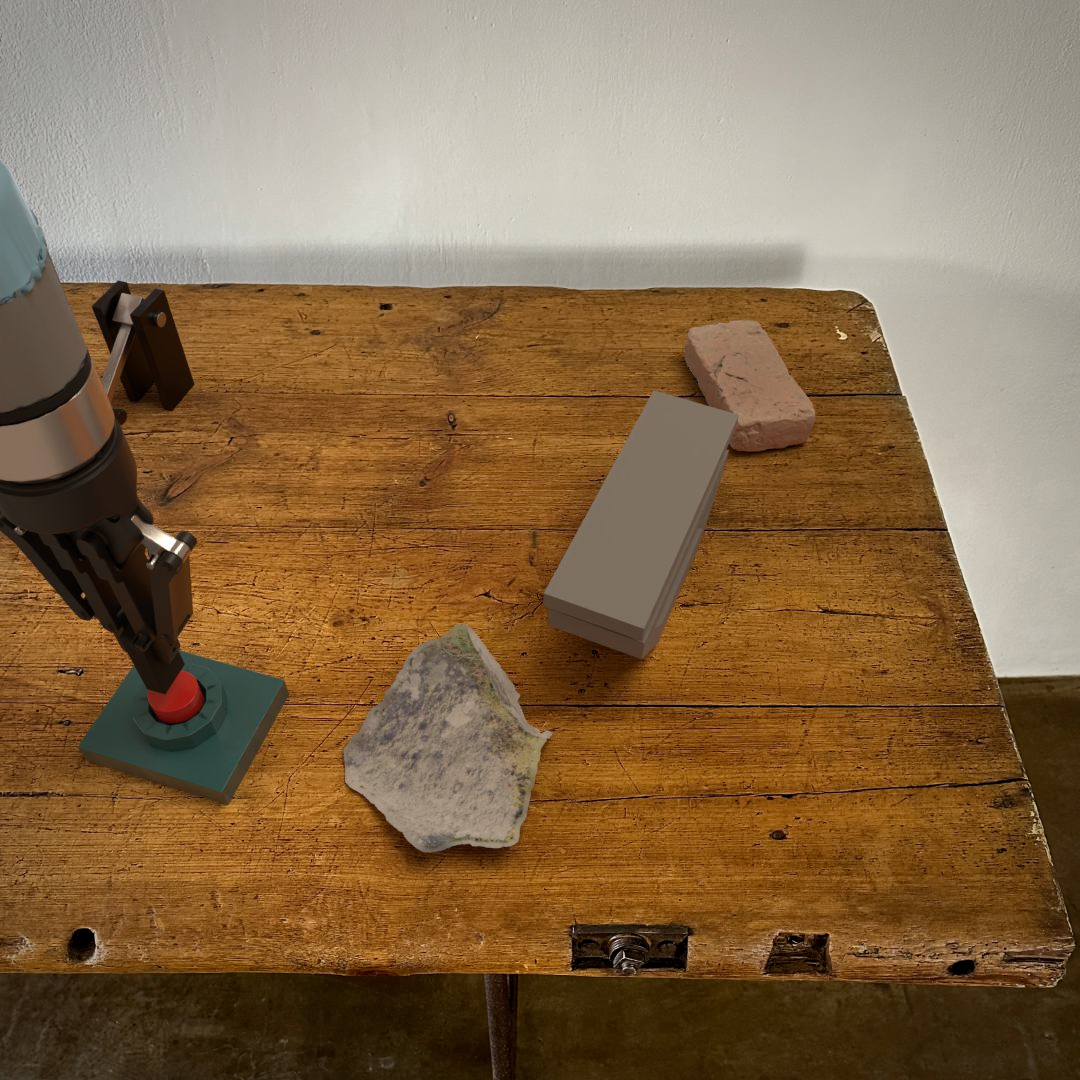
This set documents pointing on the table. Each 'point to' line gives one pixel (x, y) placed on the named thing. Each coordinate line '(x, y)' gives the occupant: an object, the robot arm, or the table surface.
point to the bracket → (148, 347)
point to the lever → (120, 348)
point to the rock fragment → (448, 748)
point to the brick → (749, 384)
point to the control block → (189, 730)
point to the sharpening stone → (643, 527)
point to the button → (177, 700)
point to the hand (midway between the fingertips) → (166, 676)
